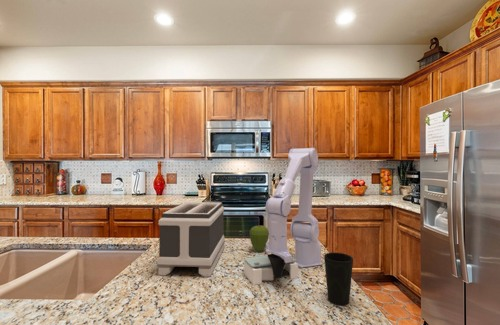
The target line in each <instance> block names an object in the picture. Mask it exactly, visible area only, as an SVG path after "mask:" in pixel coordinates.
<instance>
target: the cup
mask: <svg viewBox="0 0 500 325" xmlns="http://www.w3.org/2000/svg"><path fill="white" fill-rule="evenodd" d="M323 256H324V257H323V258H324V269H325V281H326V291H327V292H326V293H327V300H328V302H330V303H331V304H332V305H335V306H339V307H340V306H341V307H343V306H347V305H349V304H350V298H351V286H352V277H353V276H352V275H353V268H354V267H353V266H354V258H353V257H352V255H349V254H346V253H342V252H327V253H325V254H324V255H323Z"/></svg>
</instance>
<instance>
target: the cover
mask: <svg viewBox="0 0 500 325" xmlns="http://www.w3.org/2000/svg"><path fill="white" fill-rule="evenodd" d="M244 260H245V261H246V262H247V263H248V264H249V265H250V266H251V267H259V266H266V265H271V263H270V260H269V258H268V254H267V255H262V256H260V255H259V256H251V257H245V258H243V261H244ZM294 261H296V259H295V257H292V262H294Z"/></svg>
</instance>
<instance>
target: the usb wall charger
mask: <svg viewBox="0 0 500 325" xmlns="http://www.w3.org/2000/svg"><path fill="white" fill-rule="evenodd" d="M259 268H261V269H262V282H263V281H264V282H265V281H274V275H273V270H272V266H271V265H266V266H259Z"/></svg>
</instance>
